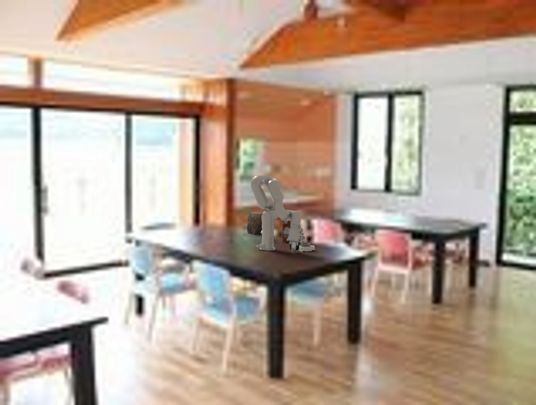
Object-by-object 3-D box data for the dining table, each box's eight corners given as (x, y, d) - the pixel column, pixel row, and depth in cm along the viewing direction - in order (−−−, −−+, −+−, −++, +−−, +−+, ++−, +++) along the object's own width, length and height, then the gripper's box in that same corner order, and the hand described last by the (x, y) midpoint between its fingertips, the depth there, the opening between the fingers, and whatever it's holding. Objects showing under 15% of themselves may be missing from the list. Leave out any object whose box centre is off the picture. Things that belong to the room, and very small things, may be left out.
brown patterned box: (303, 244, 479) (304, 220, 477) (281, 242, 483) (281, 219, 481) (304, 242, 488) (305, 219, 486) (282, 240, 492) (283, 218, 490)
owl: (245, 232, 529) (246, 211, 527) (256, 231, 537) (256, 211, 535) (253, 234, 519) (254, 213, 517) (264, 233, 527) (265, 212, 525)
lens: (293, 253, 436) (294, 241, 436) (289, 252, 441) (290, 240, 440) (298, 252, 439) (299, 241, 438) (295, 251, 443) (295, 240, 442)
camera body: (301, 251, 444) (301, 244, 444) (294, 249, 452) (295, 243, 451) (314, 250, 451) (314, 243, 451) (307, 248, 459) (308, 241, 458)
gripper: (307, 227, 436) (306, 250, 438) (288, 225, 446) (288, 247, 448) (301, 228, 430) (301, 251, 432) (283, 225, 440) (282, 248, 442)
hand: (294, 249), depth 440 cm, fingers closed on lens, 5 cm apart
